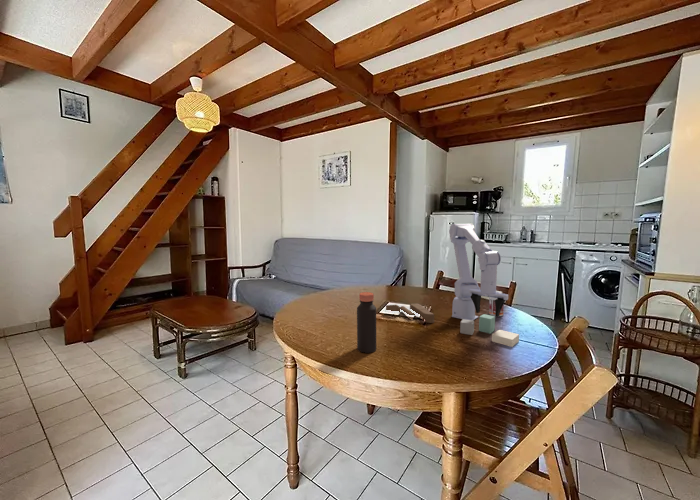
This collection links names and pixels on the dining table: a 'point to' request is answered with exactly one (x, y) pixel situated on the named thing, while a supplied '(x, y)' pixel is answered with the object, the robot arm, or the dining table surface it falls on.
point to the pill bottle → (494, 306)
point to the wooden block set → (415, 307)
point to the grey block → (467, 326)
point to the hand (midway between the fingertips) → (487, 314)
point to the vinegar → (366, 323)
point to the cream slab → (505, 338)
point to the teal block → (487, 323)
